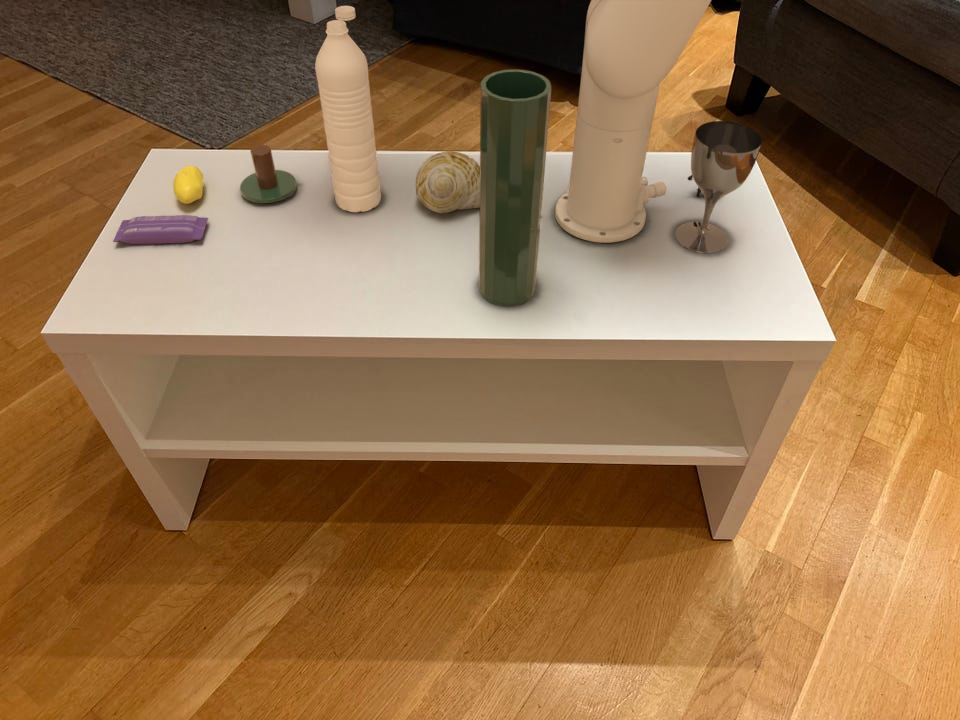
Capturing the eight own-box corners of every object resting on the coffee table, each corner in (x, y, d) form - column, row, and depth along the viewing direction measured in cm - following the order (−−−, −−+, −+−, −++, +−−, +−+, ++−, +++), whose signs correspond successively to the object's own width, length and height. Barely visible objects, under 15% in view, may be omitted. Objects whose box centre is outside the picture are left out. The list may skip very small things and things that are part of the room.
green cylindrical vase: (518, 265, 96) (529, 64, 77) (544, 296, 92) (563, 92, 73) (469, 279, 94) (469, 77, 75) (494, 312, 90) (501, 106, 71)
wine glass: (660, 227, 102) (682, 127, 92) (709, 215, 104) (736, 116, 94) (692, 260, 97) (719, 158, 86) (742, 247, 99) (775, 146, 88)
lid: (289, 171, 112) (280, 131, 107) (304, 198, 107) (296, 156, 102) (236, 184, 109) (225, 143, 104) (249, 212, 104) (238, 170, 99)
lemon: (211, 180, 109) (204, 157, 106) (202, 211, 104) (194, 187, 101) (182, 181, 109) (174, 158, 106) (171, 212, 103) (163, 188, 101)
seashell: (494, 176, 110) (493, 137, 100) (482, 235, 107) (480, 200, 97) (427, 167, 110) (420, 127, 101) (414, 224, 108) (405, 189, 98)
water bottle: (375, 215, 104) (356, 34, 86) (330, 211, 104) (301, 31, 86) (388, 181, 110) (372, 6, 92) (346, 178, 110) (321, 4, 93)
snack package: (124, 226, 101) (114, 248, 98) (120, 214, 100) (109, 236, 96) (210, 223, 102) (203, 245, 99) (206, 211, 101) (199, 233, 97)
